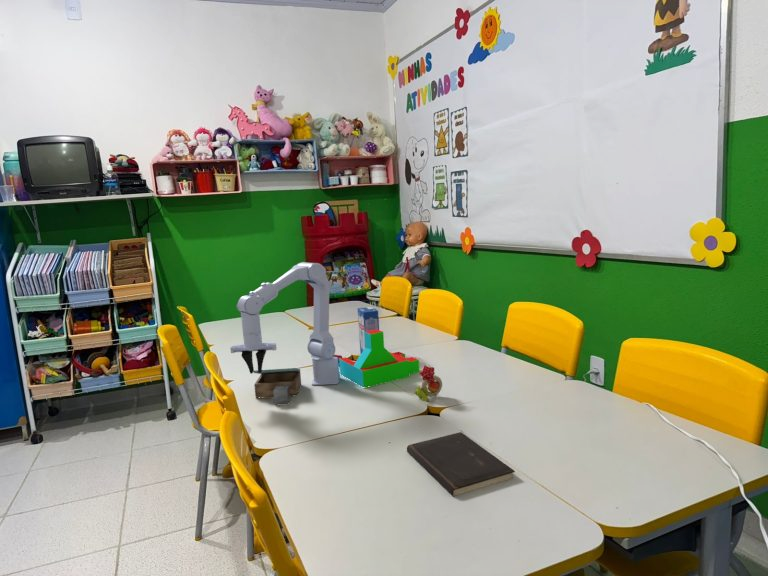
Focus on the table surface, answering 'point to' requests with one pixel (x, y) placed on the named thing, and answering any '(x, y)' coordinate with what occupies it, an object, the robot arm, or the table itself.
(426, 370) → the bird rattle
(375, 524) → the table surface
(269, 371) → the lid
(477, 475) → the hardcover book
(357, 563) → the table surface
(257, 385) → the toy box
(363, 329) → the milk carton
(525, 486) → the table surface
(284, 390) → the metal weight
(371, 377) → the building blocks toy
